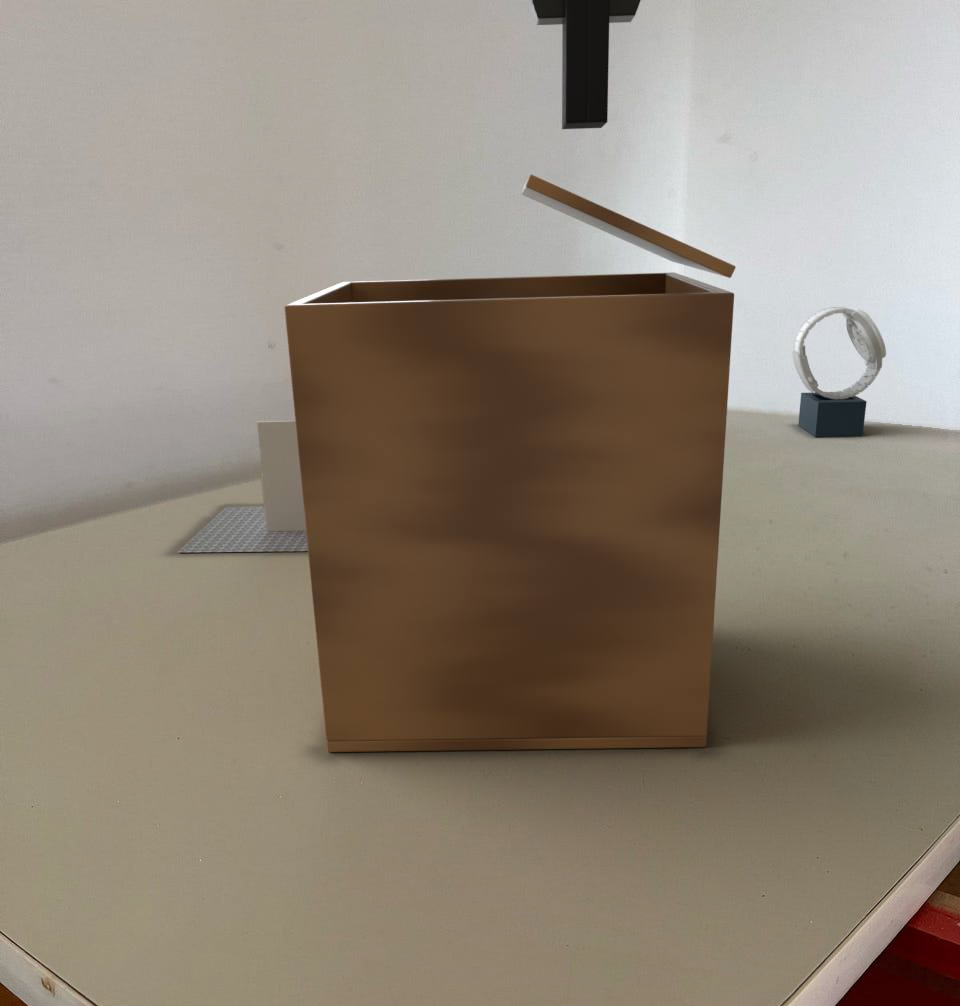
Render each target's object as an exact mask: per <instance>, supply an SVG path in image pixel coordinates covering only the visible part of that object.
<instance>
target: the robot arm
mask: <svg viewBox="0 0 960 1006" xmlns="http://www.w3.org/2000/svg"><path fill="white" fill-rule="evenodd" d="M640 3H641V0H531V2H530V4H531V5H530V7H531V12H532V15H533V18H534V21H535V23H536V26H555V25H556V26H557V25H562V31H561V32H562V36H561V37H562V39H561V40H562V45H561V46H562V47H561V48H562V49H561V50H562V51H561V53H562V54H561V55H562V56H561V57H562V59H561V61H562V62H561V67H562V68H561V69H562V70H561V71H562V72H561V73H562V75H561V79H562V80H561V94H562V95H561V130H579V129H581V130H584V129H601V128H603V127H604V126H605V125H606V124H607V123H608V115H609V109H608V107H609V60H610V59H609V58H610V55H609V53H610V24H616V23H617V24H619V23H631V22H633V19H634V18H635V17H636V14H637V11H638V9H639V7H640Z"/></svg>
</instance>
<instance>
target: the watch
mask: <svg viewBox="0 0 960 1006" xmlns="http://www.w3.org/2000/svg"><path fill="white" fill-rule="evenodd" d="M835 314H841V315H842V316H843V317H844V318H845V322H846V323H845V325H846V331H847V335H848V336H849V337H848V338H849V339H850V341H851V343H852V345H853V346H854V349H855V350H856V352H857V353H858V354H859V355H860V356H861V358H862V359H863V362H864V365H865V366H866V369H865V372H864V373H862V374H861V376H860V378H859V379H858V380H857V381H856V382H854V383H853V384H852V385H851V386H848V387H847V388H844V389H842V390H838V391H823V390H821V389H820V388H819V383H818V380H816V379H815V376H814V375H813V372H812V370H811V367H810V364H809V360H808V355H807V354H806V345H805V340H806V339H807V337H808V334H809V333H810V331H811V330H812V329H813V328H814V327H815V326H816V325H817V324H818V323H820V322H821V321H822V320H824V319H825V318H828V317H830V316H833V315H835ZM792 348H793V349H792V351H791V354H792V361H793V364H794V367H795V370H796V373H797V375H798V377H799V379H800V380H801V383H802V384H803V385H804V387H805V388H806V389H807V390H808V391H809V392H800V402H799V412H798V413H799V414H798V425H797V426H798V427H799V428H801V429H802V430H804V431H806V432H807V433H808V434H810V435H811V436H813V437H814V438H831V437H834V438H835V437H836V438H837V437H863V435H864V427H865V418H866V409H867V400H865V399H863V398H861V397H859V396H858V395H859V394H860V393H862V392H864V391H865V390H867V388H869V386H871V384H873V382H874V381H875V380H876V377H877V376H878V375H879V373H880V371H881V369H882V367H883V359H884V358H885V357H886V356H887V349H886V348H887V347H886V344H885V342H884V339H883V337H882V334H881V332H880V330H879V329H878V327H877V325H876V323H875V322H874V320H873V319H872V317H871V316H870V315H869V314H868V313H867V312H866V311H864V310H863V309H861V308H858V309H857V310H855V309H851V308H847V307H842V306H831V307H827V308H822V309H820V310H818V311H817V312H814V313H813V314H812V315H810V316H808V318H807V319H806V320H804V321H803V323H802V324H801V325H800V327H799V329H798V330H797V332H796V334H795V337H794V340H793V347H792Z"/></svg>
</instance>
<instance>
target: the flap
mask: <svg viewBox="0 0 960 1006" xmlns="http://www.w3.org/2000/svg"><path fill="white" fill-rule="evenodd" d="M520 195H522V196H523V197H526V198H529V199H531V200H533V201H535V202H538V203H539V204H542V205H545V206H547V207H549V208H551V209H553V210H555V211H558V212H560V213H562V214H563V215H566V216H569V217H571V218H573V219H575V220H578V221H580V222H582V223H584V224H587V225H588V226H591V227H593V228H596V229H598V230H600V231H602V232H605V233H607V234H609V235H612V236H613V237H616V238H617V239H620V240H623V241H625V242H627V243H629V244H632V245H633V246H636V247H639V248H641V249H643V250H645V251H647V252H650V253H651V254H653V255H656V256H658V257H661V258H663V259H666V260H668V261H670V262H673V263H676V264H679V265H683V266H687V267H690V268H692V269H697V270H701V271H704V272H708V273H710V274H713V275H718V276H722V277H725V278H729V279H731V278H732V276H733V274H734V272H735V270H736V265H735V264H731V263H730V262H727V261H725V260H724V259H723V260H722V259H720V258H719V257H716V256H714V255H712V254H710V253H707V252H705V251H703V250H701V249H698V248H696V247H694V246H692V245H689V244H687V243H685V242H683V241H681V240H678V239H676V238H674V237H672V236H669V235H667V234H665V233H663V232H661V231H658V230H656V229H654V228H652V227H649V226H647V225H646V224H645V225H644V224H643V223H641V222H638V221H636V220H634V219H631V218H629V217H627V216H624V215H622V214H620V213H618V212H617V211H614V210H612V209H610V208H607V207H605V206H602V205H601V204H598V203H596V202H594V201H592V200H589V199H587V198H585V197H582V196H581V195H578V194H576V193H575V192H571V191H569V190H568V189H565V188H562V187H560V186H558V185H556V184H553V183H551V182H549V181H547V180H544V179H542V178H540V177H539V176H536V175H533V174H529V175H528V177H527V179H526V181H525V183H524V185H523V187H522V189H521V192H520Z"/></svg>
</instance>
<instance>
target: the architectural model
mask: <svg viewBox="0 0 960 1006" xmlns="http://www.w3.org/2000/svg"><path fill="white" fill-rule="evenodd" d="M256 424H257V434H258V442H259V451H260V460H261V461H260V462H261V471H260V479H261V481H260V483H261V489H262V497H263V498H262V499H263V505H261V506H260V505H259V506H258V505H257V506H256V505H255V506H250V505H249V506H225V507H224V509H222V510H221V511H220V512H219V513H218V514H217V515H216V516H215V517H214V518H212V519H211V521H209V522H208V523H207V524H206V525H205V526H204V527H203V528H202V529H201V530H200V531H199V532H197V534H195V535H194V536H193V537H192V538H191V539H190V540H189V541H187V543H185V545H183V547H181V549H179V550H178V553H249V552H251V553H253V552H255V553H258V552H259V553H260V552H263V553H264V552H308V545H307V535H306V525H305V514H304V504H303V494H302V483H301V473H300V463H299V452H298V442H297V432H296V421H295V420H265V421H264V420H261V421H257V422H256Z"/></svg>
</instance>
